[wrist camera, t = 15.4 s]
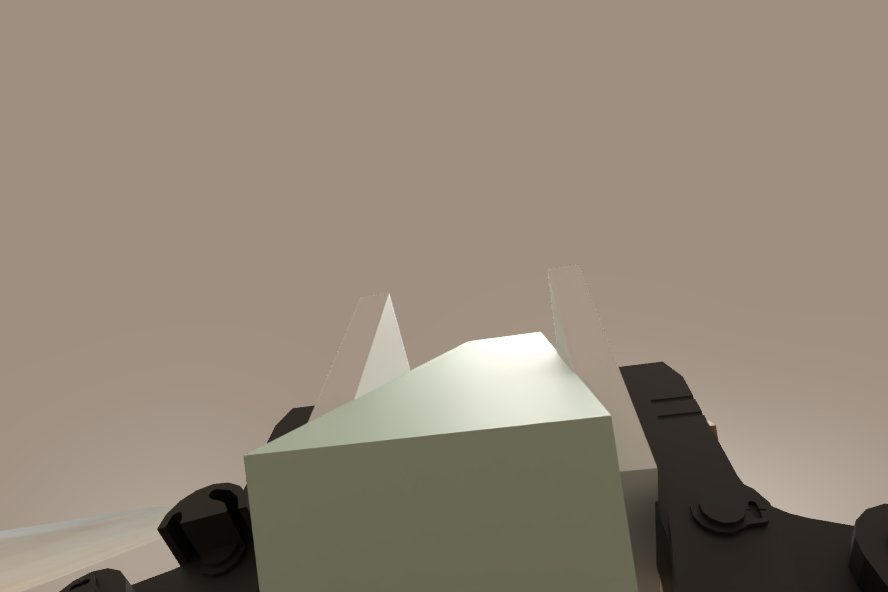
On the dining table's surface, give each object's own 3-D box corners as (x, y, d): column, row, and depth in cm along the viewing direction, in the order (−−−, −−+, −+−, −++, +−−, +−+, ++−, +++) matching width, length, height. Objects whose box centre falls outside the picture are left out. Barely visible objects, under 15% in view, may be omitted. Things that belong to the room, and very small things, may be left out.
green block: (476, 404, 30) (468, 341, 30) (550, 396, 29) (540, 331, 29) (281, 781, 6) (243, 455, 6) (666, 774, 5) (610, 415, 5)
